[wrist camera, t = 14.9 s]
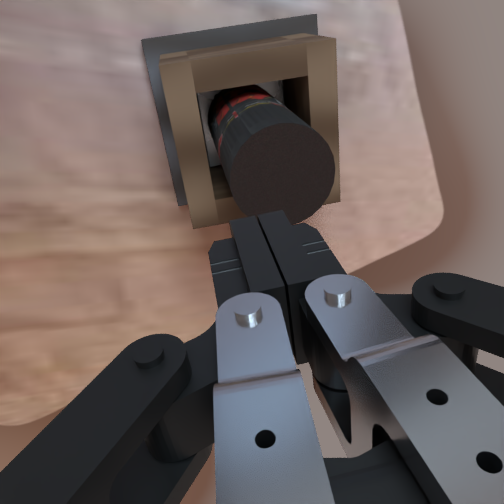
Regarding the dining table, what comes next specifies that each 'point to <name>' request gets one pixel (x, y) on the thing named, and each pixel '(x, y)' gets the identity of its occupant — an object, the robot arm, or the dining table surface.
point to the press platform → (204, 105)
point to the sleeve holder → (235, 75)
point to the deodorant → (269, 154)
